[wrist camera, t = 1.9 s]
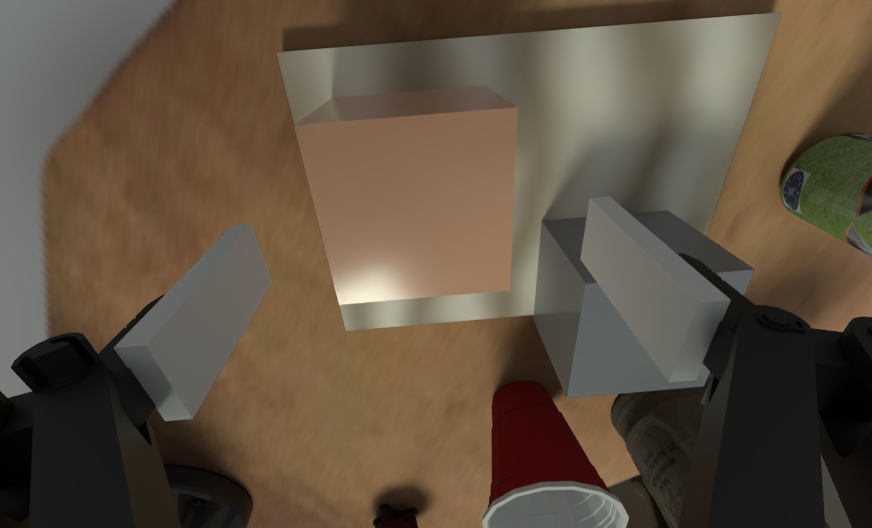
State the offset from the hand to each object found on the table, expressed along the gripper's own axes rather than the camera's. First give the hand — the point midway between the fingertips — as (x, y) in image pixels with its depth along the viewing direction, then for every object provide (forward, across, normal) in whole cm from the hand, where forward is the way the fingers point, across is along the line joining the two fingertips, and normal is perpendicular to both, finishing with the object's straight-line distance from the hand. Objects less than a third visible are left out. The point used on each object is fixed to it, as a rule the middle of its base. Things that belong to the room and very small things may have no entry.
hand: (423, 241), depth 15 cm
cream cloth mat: (+12, -7, +3) cm, 14 cm away
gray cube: (+11, -13, +9) cm, 19 cm away
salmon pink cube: (+11, 0, 0) cm, 11 cm away
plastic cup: (+12, -8, +25) cm, 29 cm away
